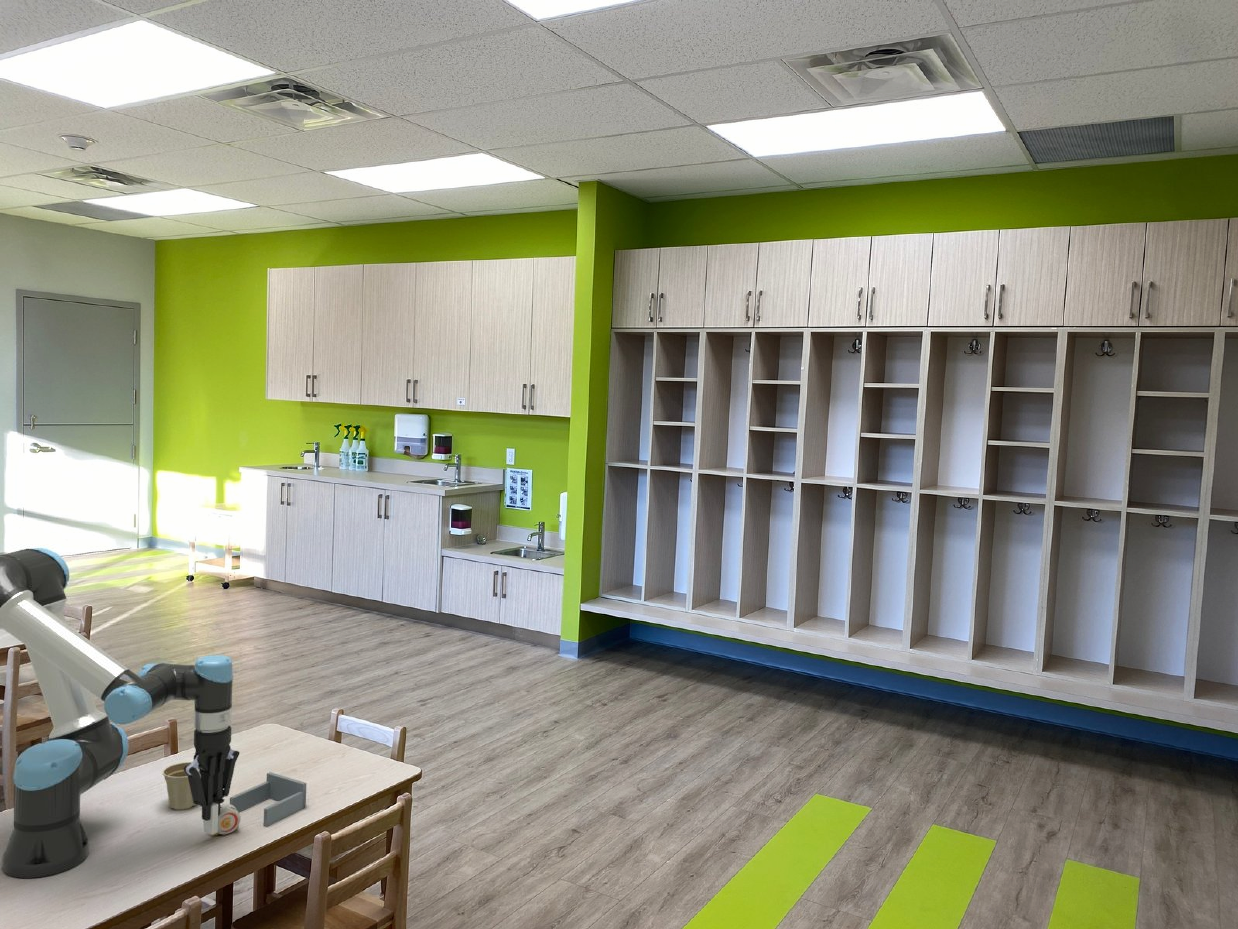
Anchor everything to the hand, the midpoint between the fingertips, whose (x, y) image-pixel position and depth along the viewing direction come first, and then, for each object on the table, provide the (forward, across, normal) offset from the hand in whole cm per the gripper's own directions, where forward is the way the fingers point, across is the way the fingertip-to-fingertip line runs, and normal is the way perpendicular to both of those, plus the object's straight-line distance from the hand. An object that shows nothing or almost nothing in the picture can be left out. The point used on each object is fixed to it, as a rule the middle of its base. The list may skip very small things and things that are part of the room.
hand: (210, 832), depth 199 cm
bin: (+2, +17, +1) cm, 17 cm away
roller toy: (+2, +4, 0) cm, 5 cm away
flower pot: (+2, +8, +20) cm, 22 cm away
